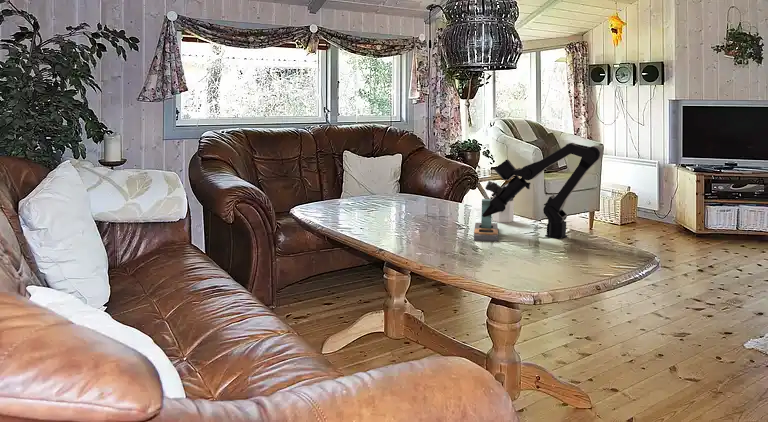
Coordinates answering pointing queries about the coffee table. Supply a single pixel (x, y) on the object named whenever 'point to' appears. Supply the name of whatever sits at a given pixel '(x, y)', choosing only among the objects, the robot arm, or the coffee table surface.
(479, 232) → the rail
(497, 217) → the jar
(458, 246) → the coffee table surface
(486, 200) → the peg
